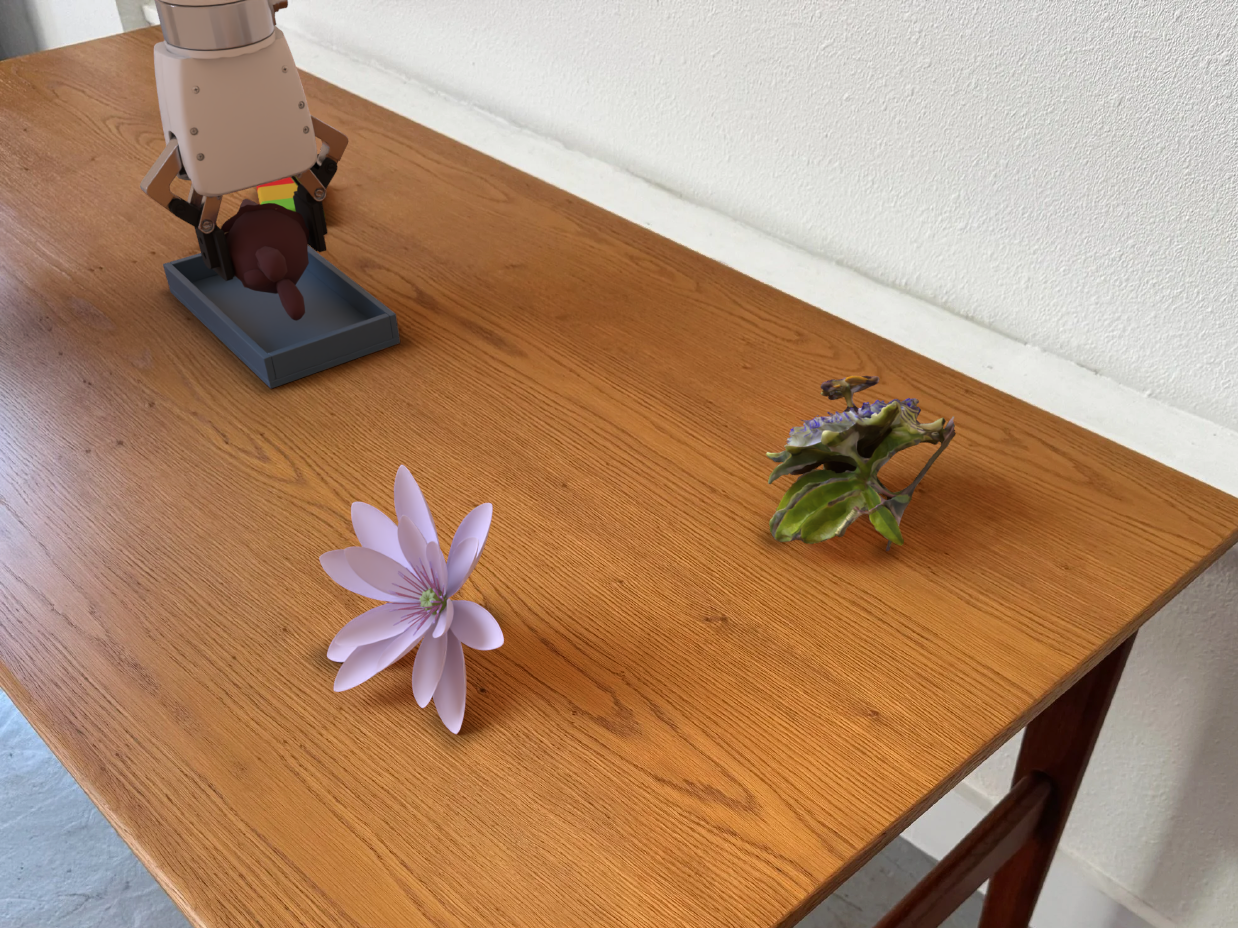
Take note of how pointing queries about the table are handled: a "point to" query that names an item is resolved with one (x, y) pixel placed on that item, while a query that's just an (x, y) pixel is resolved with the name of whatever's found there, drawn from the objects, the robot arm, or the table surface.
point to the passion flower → (850, 465)
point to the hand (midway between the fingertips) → (269, 258)
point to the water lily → (412, 599)
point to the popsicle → (278, 193)
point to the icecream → (269, 251)
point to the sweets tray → (286, 318)
